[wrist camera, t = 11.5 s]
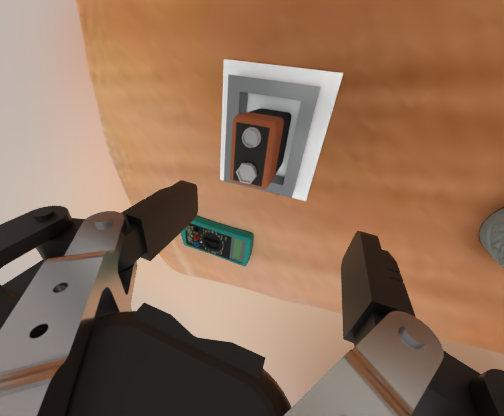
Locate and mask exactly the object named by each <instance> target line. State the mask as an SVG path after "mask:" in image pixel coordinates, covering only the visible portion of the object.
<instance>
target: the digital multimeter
mask: <svg viewBox="0 0 504 416" xmlns="http://www.w3.org/2000/svg"><path fill="white" fill-rule="evenodd" d="M209 229H210V230H209ZM212 230H213V231H212ZM215 231H216V232H215ZM218 232H219V233H218ZM221 233H222V234H221ZM224 234H225V235H224ZM227 235H228V236H227ZM181 236H182V239H183V243H184V244H185V245H186V246H189V247H192V248H195V249H198V250H201V251H204V252H207V253H210V254H212V255H215V256H218V257H221V258H223V259H226V260H229V261H231V262H234V263H237V264H239V265H242V266H246V265H247V263H248V261H249V258H250V255H251V251H252V246H253V234H252V233H250V232H247V231H243V230H239V229H236V228H232V227H229V226H226V225H223V224H219V223H216V222H213V221H210V220H208V219H205V218H201V217H199V216H196V217H195V219H194V220H193V221H192V222H191V223H190V224H189V225H188V226H187V227H186V228H185V229H184V230H183V231H182V232H181Z"/></svg>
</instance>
